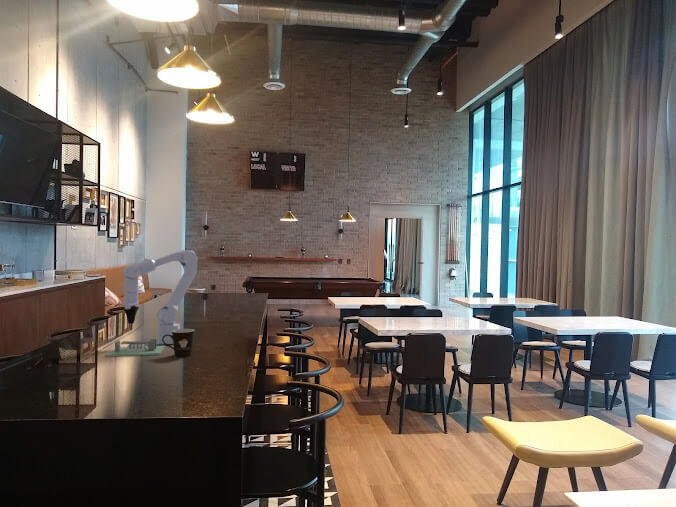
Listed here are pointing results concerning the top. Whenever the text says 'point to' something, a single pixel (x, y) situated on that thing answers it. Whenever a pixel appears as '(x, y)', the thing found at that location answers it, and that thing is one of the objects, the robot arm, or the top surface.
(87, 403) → the top surface
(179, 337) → the coffee mug
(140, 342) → the brown and grey bar
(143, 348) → the heatsink board
